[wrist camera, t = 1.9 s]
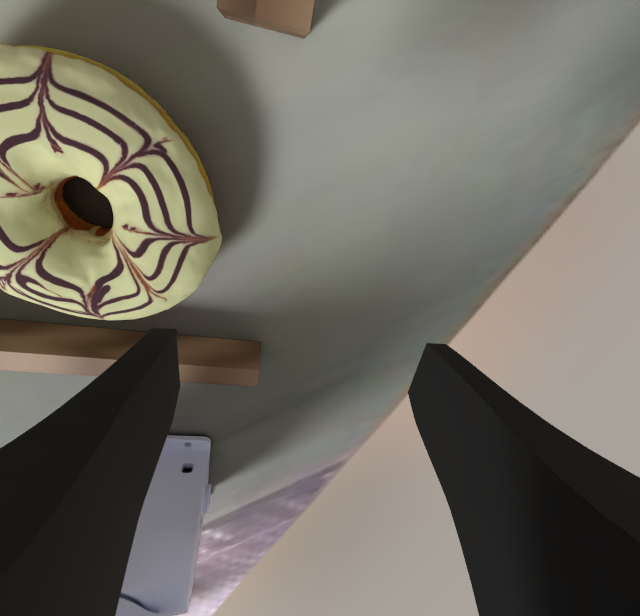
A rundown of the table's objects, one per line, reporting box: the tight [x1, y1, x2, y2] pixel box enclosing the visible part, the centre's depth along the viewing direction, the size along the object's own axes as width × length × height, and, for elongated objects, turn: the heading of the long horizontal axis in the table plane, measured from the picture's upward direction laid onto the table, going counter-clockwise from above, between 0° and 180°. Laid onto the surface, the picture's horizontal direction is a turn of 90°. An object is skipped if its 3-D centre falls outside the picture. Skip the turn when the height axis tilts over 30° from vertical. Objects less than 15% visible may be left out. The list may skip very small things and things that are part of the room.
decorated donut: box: [0, 44, 222, 320], centre depth 15 cm, size 10×11×4 cm
